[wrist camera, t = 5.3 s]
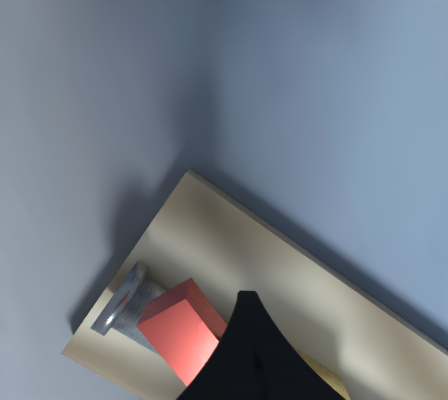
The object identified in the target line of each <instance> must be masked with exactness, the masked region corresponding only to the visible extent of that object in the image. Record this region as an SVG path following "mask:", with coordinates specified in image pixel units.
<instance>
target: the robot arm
mask: <svg viewBox="0 0 448 400" xmlns="http://www.w3.org/2000/svg"><path fill="white" fill-rule="evenodd" d="M176 400H346V399H345V398H344V397H342V396H341V395H340V394H339V393H338V392H337V391H335V390H334V389H333V388H332V387H331V386H330V385H329V384H328V383H327V382H326V381H324V380H323V379H322V378H321V377H320V376H319V375H318V374H317V373H316V372H315V371H314V370H313V369H312V368H311V367H310V366H309V365H308V364H307V363H306V362H305V361H304V359H303V358H302V357H301V356H300V355H299V354H298V353H297V352H296V350H295V349H294V348H293V347H292V346H291V344H290V343H289V342H288V341H287V339H286V338H285V337H284V335H283V334H282V333H281V331H280V330H279V329H278V327H277V326H276V324H275V323H274V321H273V320H272V318H271V317H270V315H269V314H268V312H267V310H266V309H265V307H264V305H263V303H262V301H261V300H260V298H259V296H258V293H257V292H256V291H245V290H240V291H239V292H238V293H237V300H236V304H235V307H234V310H233V313H232V315H231V318H230V320H229V323H228V325H227V327H226V329H225V331H224V333H223V335H222V337H221V339H220V341H219V342H218V344H217V346H216V348H215V349H214V351H213V352H212V354H211V356H210V357H209V359H208V360H207V362H206V363H205V364H204V366H203V367H202V369H201V370H200V371H199V373H198V374H197V375H196V377H195V378H194V379H193V380H192V382H191V383H190V384H189V385H188V386H187V387H186V389H185V390H184V391H183V392H182V393H181V394H180V395H179V396H178V398H177V399H176Z"/></svg>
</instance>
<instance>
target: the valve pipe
mask: <svg viewBox="0 0 448 400" xmlns="http://www.w3.org/2000/svg"><path fill="white" fill-rule="evenodd" d="M148 270H149V268H148V267H146V266H144V265H143V264H141V263H140V262H138V261H137V262H136V263H135V265H134V266H133V268H132V269H131V270H130V272H129V273H128V275H127V276H126V278H125V279H124V280H123V282H122V283H121V285H120V286H119V288H118V289H117V290H116V292H115V293H114V295H113V296H112V298H111V299H110V300H109V302H108V303H107V305H106V306H105V308H104V309H103V310H102V312H101V313H100V315H99V316H98V318H97V319H96V320H95V322H94V323H93V325H92V326H91V328H90V329H92V330H94V331H96V332H97V333H99V334H101V335H102V336H105V335H106V333H107V332H108V331H109V330H110V328H113V329H115V330H116V331H118V332H120V333H122V334H123V335H125V336H127V337H128V338H130V339H132V340H134V341H135V342H137V343H139V344H140V345H142V346H144V347H145V348H147V349H149V350H151V351H152V352H154V353H156V354H157V355H159V356H161V355H160V354H159V353H158V352H157V351H156V349H155V348H154V347H153V346H152V345H151V343H150V342H149V341H148V340H147V339H146V338H145V336H144V335H143V334H142V333H141V332H140V330H139V329H138V328H137V327H136V325H137V323H138V321H139V319H140V317H141V315H142V313H143V311H144V308H145V306H146V304H147V302H149V301H151V300H152V299H154V298H156V297H158V296H159V295H161V294H163V293H165V292H166V291H167V290H165V289H164V288H162V287H160V286H159V285H157V284H156V283H154V282H152V281H151V280H149V279H148V278H146V277H145V276H146V274H147V272H148ZM291 346H292V345H291ZM292 347H293V346H292ZM293 348H294V349H295V350H296V352H297V353H298V354H299V355H300V356H301V357H302V358H303V359H304V361H305V362H306V363H307V364H308V365H309V366H310V367H311V368H312V369H313V370H314V371H315V372H316V373H317V374H318V375H319V376H320V377H321V378H322V379H323V380H324V381H326V382H327V383H328V384H329V385H330V386H331V387H332V388H333V389H334V390H335V391H337V392H338V393H339V394H340V395H341V396H342V397H344V398H345V399H346V400H350V397H349V395H348V393H347V390H346V388H345V386H344V383H343V381H342V379H341V377H340V376H338V375H337V374H335V373H334V372H332V371H331V370H329V369H327V368H326V367H324V366H323V365H321V364H320V363H318V362H317V361H315V360H313V359H312V358H310V357H309V356H307V355H306V354H304V353H303V352H301V351H299V350H298V349H296V348H295V347H293ZM161 357H162V356H161Z"/></svg>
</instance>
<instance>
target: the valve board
mask: <svg viewBox="0 0 448 400" xmlns="http://www.w3.org/2000/svg"><path fill="white" fill-rule="evenodd" d="M137 261H138V262H140V263H141V264H143V265H144V266H146V267H148V268H149V270H148V272H147V274H146V276H145V277H146V278H148V279H149V280H151V281H152V282H154V283H156V284H157V285H159V286H160V287H162V288H164V289H165V290H167V291H168V290H170V289H172V288H173V287H175V286H177V285H179V284H180V283H182V282H184V281H186V280H187V279H189V278H192V279H193V280H194V282H195V283H196V284H197V286H198V287H199V288H200V290H201V291H202V292H203V294H204V295H205V296H206V298H207V299H208V300H209V302H210V303H211V304H212V306H213V307H214V308H215V310H216V311H217V312H218V314H219V315H220V316H221V318H222V319H223V320H224V322H225V323H226V324H227V325H228V323H229V320H230V318H231V315H232V313H233V310H234V307H235V304H236V300H237V293H238V292H239V291H240V290H245V291H256V292H257V293H258V296H259V298H260V300H261V301H262V303H263V305H264V307H265V309H266V310H267V312H268V314H269V315H270V317H271V318H272V320H273V321H274V323H275V324H276V326H277V327H278V329H279V330H280V331H281V333H282V334H283V335H284V337H285V338H286V339H287V341H288V342H289V343H290V344H291V345H292V346H293V347H295V348H296V349H298V350H299V351H301V352H303V353H304V354H306V355H307V356H309V357H310V358H312V359H313V360H315V361H317V362H318V363H320V364H321V365H323V366H324V367H326V368H327V369H329V370H331V371H332V372H334V373H335V374H337V375H338V376H340V377H341V379H342V381H343V383H344V386H345V388H346V390H347V393H348V395H349V397H350V400H448V350H447V349H445V348H444V347H443V346H441V345H440V344H438V343H437V342H435V341H434V340H433V339H431V338H430V337H428V336H427V335H426V334H424V333H423V332H421V331H420V330H418V329H417V328H416V327H414V326H413V325H411V324H410V323H409V322H407V321H406V320H404V319H403V318H402V317H400V316H399V315H397V314H396V313H394V312H393V311H392V310H390V309H389V308H387V307H386V306H385V305H383V304H382V303H380V302H379V301H377V300H376V299H375V298H373V297H372V296H370V295H369V294H368V293H366V292H365V291H363V290H362V289H360V288H359V287H358V286H356V285H355V284H353V283H352V282H351V281H349V280H348V279H346V278H345V277H344V276H342V275H341V274H339V273H338V272H336V271H335V270H334V269H332V268H331V267H329V266H328V265H327V264H325V263H324V262H322V261H321V260H319V259H318V258H317V257H315V256H314V255H312V254H311V253H310V252H308V251H307V250H305V249H304V248H302V247H301V246H300V245H298V244H297V243H295V242H294V241H293V240H291V239H290V238H288V237H287V236H286V235H284V234H283V233H281V232H280V231H278V230H277V229H276V228H274V227H273V226H271V225H270V224H269V223H267V222H266V221H264V220H263V219H261V218H260V217H259V216H257V215H256V214H254V213H253V212H252V211H250V210H249V209H247V208H246V207H244V206H243V205H242V204H240V203H239V202H237V201H236V200H235V199H233V198H232V197H230V196H229V195H228V194H226V193H225V192H223V191H222V190H220V189H219V188H218V187H216V186H215V185H213V184H212V183H211V182H209V181H208V180H206V179H205V178H203V177H202V176H201V175H199V174H198V173H196V172H195V171H194V170H192V169H191V168H189V169H188V170H187V172H186V173H185V174H184V176H183V177H182V178H181V180H180V181H179V183H178V184H177V186H176V187H175V189H174V190H173V192H172V193H171V194H170V196H169V197H168V199H167V200H166V202H165V203H164V205H163V206H162V208H161V209H160V210H159V212H158V213H157V215H156V216H155V218H154V219H153V221H152V222H151V223H150V225H149V226H148V228H147V229H146V231H145V232H144V234H143V235H142V237H141V238H140V239H139V241H138V242H137V244H136V245H135V247H134V248H133V250H132V251H131V253H130V254H129V255H128V257H127V258H126V260H125V261H124V263H123V264H122V266H121V267H120V268H119V270H118V271H117V273H116V274H115V276H114V277H113V279H112V280H111V282H110V283H109V284H108V286H107V287H106V289H105V290H104V292H103V293H102V295H101V296H100V298H99V299H98V300H97V302H96V303H95V305H94V306H93V308H92V309H91V311H90V312H89V313H88V315H87V316H86V318H85V319H84V321H83V322H82V324H81V325H80V327H79V328H78V329H77V331H76V332H75V334H74V335H73V337H72V338H71V340H70V341H69V343H68V344H67V345H66V347H65V348H64V350H63V351H62V353H61V354H62V355H64V356H66V357H67V358H69V359H71V360H73V361H75V362H76V363H78V364H80V365H82V366H84V367H85V368H87V369H89V370H91V371H93V372H94V373H96V374H98V375H100V376H102V377H103V378H105V379H107V380H109V381H111V382H112V383H114V384H116V385H118V386H120V387H122V388H123V389H125V390H127V391H129V392H131V393H132V394H134V395H136V396H138V397H140V398H141V399H143V400H176V399H177V398H178V396H179V395H180V394H181V393H182V392H183V391H184V390H185V389H186V387H187V386H186V385H185V384H184V382H183V381H182V380H181V379H180V378H179V377H178V375H177V374H176V373H175V372H174V371H173V369H172V368H171V367H170V366H169V365H168V364H167V362H166V361H165V360H164V359H163V358H162V357H161V356H159V355H157V354H156V353H154V352H152V351H151V350H149V349H147V348H145V347H144V346H142V345H140V344H139V343H137V342H135V341H134V340H132V339H130V338H128V337H127V336H125V335H123V334H122V333H120V332H118V331H116V330H115V329H113V328H110V330H109V331H108V332H107V333H106V335H105V336H102V335H101V334H99V333H97V332H96V331H94V330H92V329H90V328H91V326H92V325H93V323H94V322H95V320H96V319H97V318H98V316H99V315H100V313H101V312H102V310H103V309H104V308H105V306H106V305H107V303H108V302H109V300H110V299H111V298H112V296H113V295H114V293H115V292H116V290H117V289H118V288H119V286H120V285H121V283H122V282H123V280H124V279H125V278H126V276H127V275H128V273H129V272H130V270H131V269H132V268H133V266H134V265H135V263H136V262H137Z"/></svg>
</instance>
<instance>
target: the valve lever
mask: <svg viewBox="0 0 448 400" xmlns="http://www.w3.org/2000/svg"><path fill="white" fill-rule="evenodd" d="M136 327H137V328H138V329H139V330H140V332H141V333H142V334H143V335H144V336H145V338H146V339H147V340H148V341H149V342H150V343H151V345H152V346H153V347H154V348H155V349H156V351H157V352H158V353H159V354H160V355H161V356H162V358H163V359H164V360H165V361H166V362H167V364H168V365H169V366H170V367H171V368H172V369H173V371H174V372H175V373H176V374H177V375H178V377H179V378H180V379H181V380H182V381H183V382H184V384H185V385H186V386H188V385H189V384H190V383H191V382H192V380H193V379H194V378H195V377H196V375H197V374H198V373H199V371H200V370H201V369H202V367H203V366H204V364H205V363H206V362H207V360H208V359H209V357H210V356H211V354H212V352H213V351H214V349H215V348H216V346H217V344H218V342H219V341H220V339H221V337H222V335H223V333H224V331H225V329H226V327H227V324H226V323H225V322H224V320H223V319H222V318H221V316H220V315H219V314H218V312H217V311H216V310H215V308H214V307H213V306H212V304H211V303H210V302H209V300H208V299H207V298H206V296H205V295H204V294H203V292H202V291H201V290H200V288H199V287H198V286H197V284H196V283H195V282H194V280H193V279H192V278H189V279H187V280H186V281H184V282H182V283H180V284H179V285H177V286H175V287H173V288H172V289H170V290H168V291H166V292H165V293H163V294H161V295H159V296H158V297H156V298H154V299H152V300H151V301H149V302H147V304H146V306H145V308H144V311H143V313H142V315H141V317H140V319H139V321H138V323H137V325H136Z"/></svg>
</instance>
